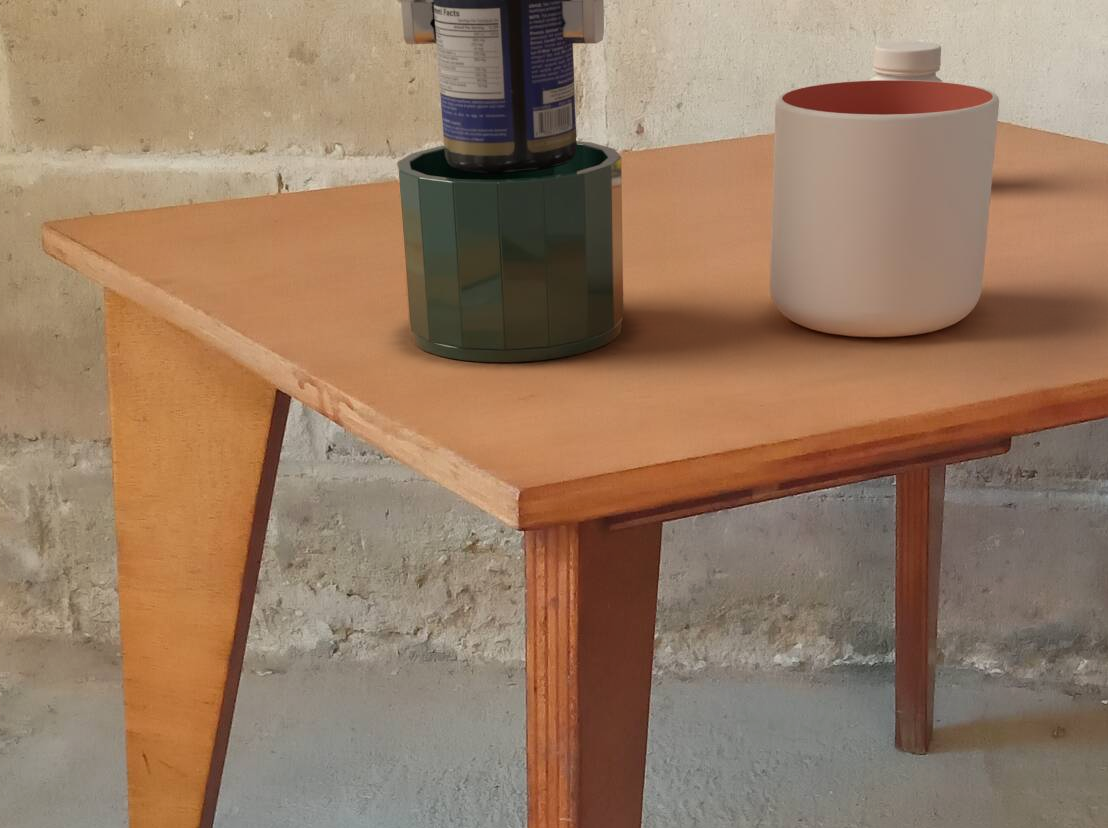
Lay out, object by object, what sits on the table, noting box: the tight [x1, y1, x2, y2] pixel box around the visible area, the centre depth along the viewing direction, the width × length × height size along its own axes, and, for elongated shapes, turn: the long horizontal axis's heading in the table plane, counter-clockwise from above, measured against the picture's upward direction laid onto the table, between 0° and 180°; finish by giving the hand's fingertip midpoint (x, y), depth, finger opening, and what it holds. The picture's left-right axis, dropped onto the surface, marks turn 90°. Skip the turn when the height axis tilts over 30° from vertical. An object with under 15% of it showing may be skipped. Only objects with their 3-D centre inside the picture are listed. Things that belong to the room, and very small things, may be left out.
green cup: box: [396, 140, 624, 363], centre depth 80 cm, size 10×10×8 cm
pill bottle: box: [433, 0, 577, 174], centre depth 75 cm, size 6×6×11 cm
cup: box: [769, 79, 1000, 338], centre depth 80 cm, size 10×10×10 cm
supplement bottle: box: [869, 41, 943, 82], centre depth 104 cm, size 5×5×8 cm
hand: (504, 42), depth 76 cm, fingers closed on pill bottle, 6 cm apart
